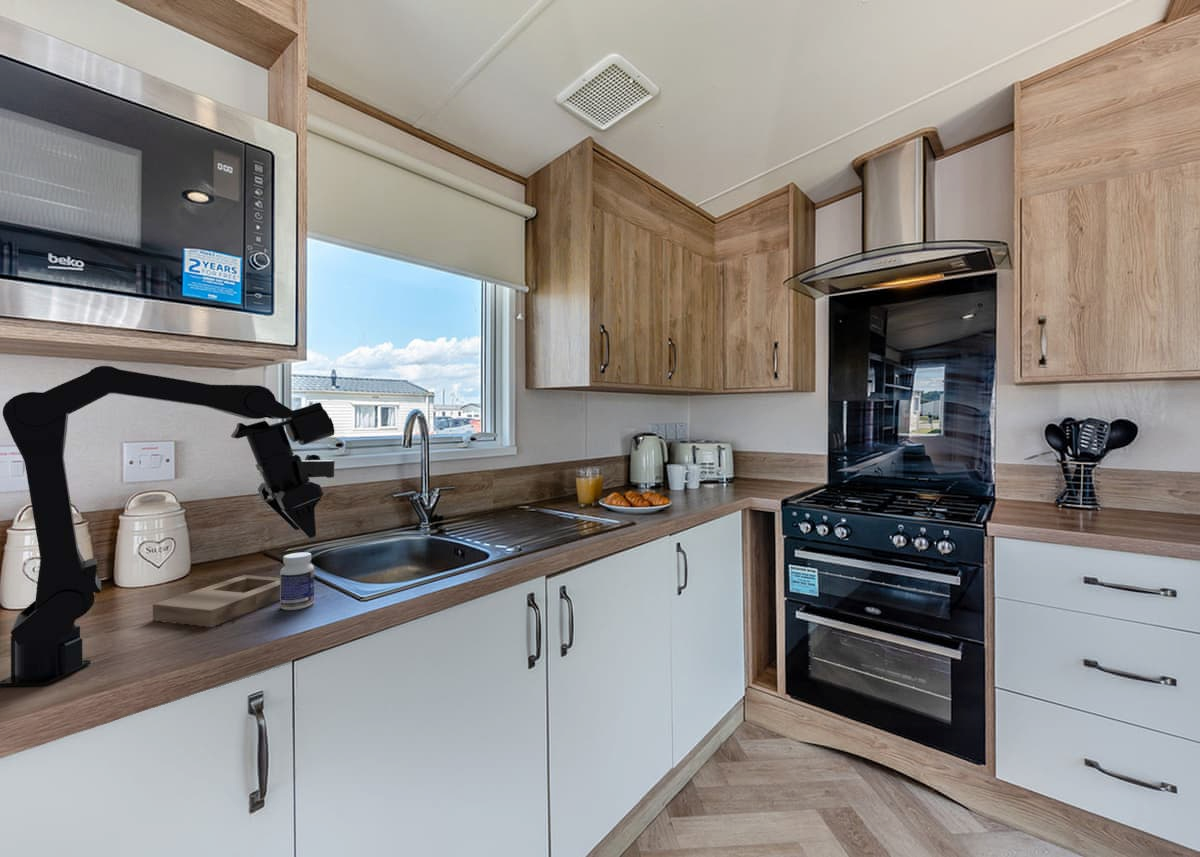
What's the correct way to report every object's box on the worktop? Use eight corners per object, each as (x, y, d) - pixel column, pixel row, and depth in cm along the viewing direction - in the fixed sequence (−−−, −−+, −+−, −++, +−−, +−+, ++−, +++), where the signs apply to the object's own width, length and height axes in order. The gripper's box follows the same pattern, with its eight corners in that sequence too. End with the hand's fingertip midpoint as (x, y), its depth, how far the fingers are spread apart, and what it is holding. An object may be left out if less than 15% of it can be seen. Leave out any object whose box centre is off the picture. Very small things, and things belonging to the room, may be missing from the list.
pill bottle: (318, 605, 98) (318, 554, 98) (285, 613, 94) (285, 560, 94) (308, 598, 102) (308, 549, 102) (275, 606, 98) (275, 554, 98)
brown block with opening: (211, 627, 87) (211, 610, 87) (152, 620, 90) (152, 604, 90) (295, 593, 105) (295, 579, 105) (243, 588, 108) (243, 574, 108)
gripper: (337, 440, 88) (366, 520, 92) (306, 438, 102) (333, 508, 105) (267, 463, 81) (301, 550, 85) (243, 458, 94) (274, 532, 98)
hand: (305, 532), depth 93 cm, fingers open, 9 cm apart
